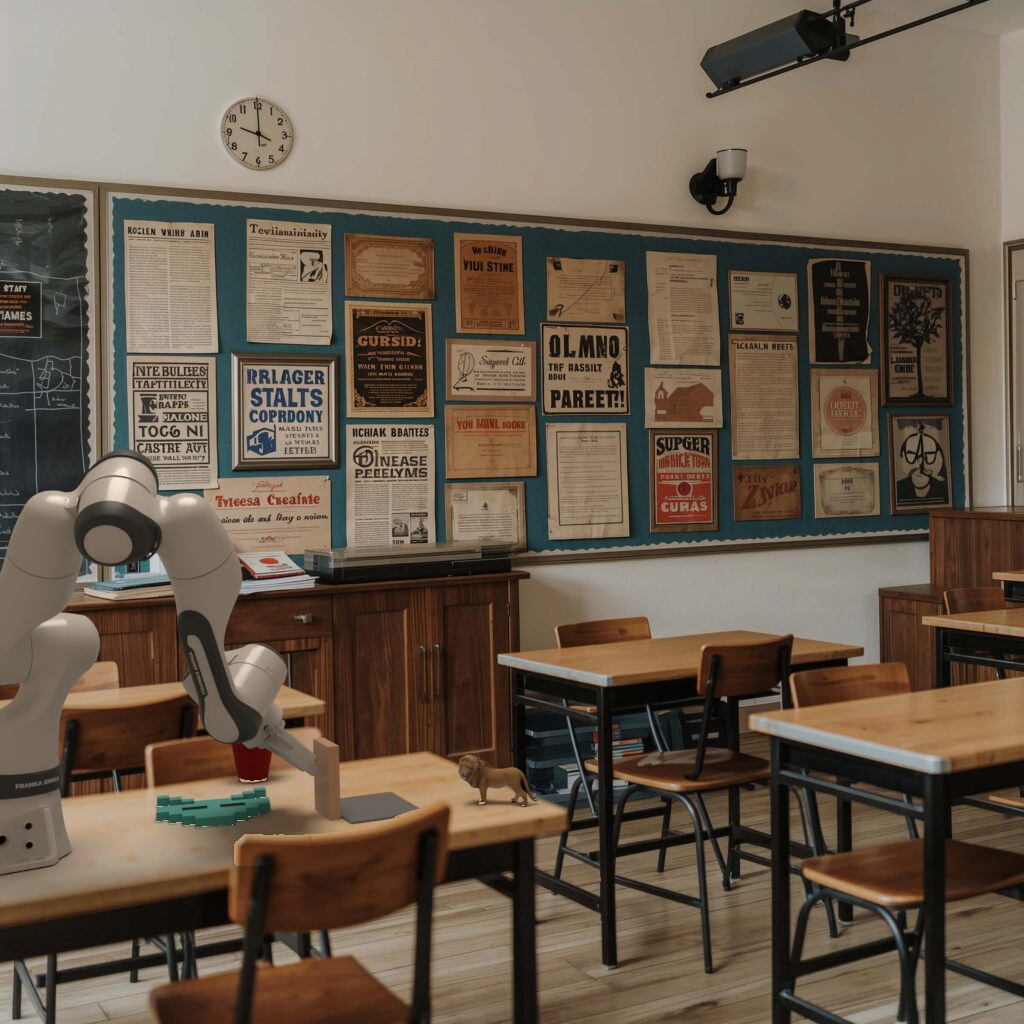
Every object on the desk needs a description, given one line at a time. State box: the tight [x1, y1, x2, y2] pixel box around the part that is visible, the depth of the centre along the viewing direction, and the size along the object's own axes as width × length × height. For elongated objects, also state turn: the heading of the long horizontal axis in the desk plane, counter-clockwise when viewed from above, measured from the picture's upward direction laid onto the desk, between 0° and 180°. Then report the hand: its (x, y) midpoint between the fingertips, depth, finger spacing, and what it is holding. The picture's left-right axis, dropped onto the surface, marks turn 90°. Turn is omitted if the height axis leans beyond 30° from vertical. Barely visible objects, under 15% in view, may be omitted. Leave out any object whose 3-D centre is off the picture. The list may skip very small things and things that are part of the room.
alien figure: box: [155, 786, 271, 828], centre depth 224 cm, size 20×2×20 cm
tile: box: [312, 737, 342, 821], centre depth 222 cm, size 2×9×13 cm, turn 26°
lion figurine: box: [457, 754, 539, 806], centre depth 227 cm, size 15×5×9 cm, turn 84°
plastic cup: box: [230, 743, 273, 781], centre depth 250 cm, size 11×11×12 cm
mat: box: [340, 791, 420, 825], centre depth 225 cm, size 14×18×1 cm
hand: (314, 771), depth 220 cm, fingers closed
